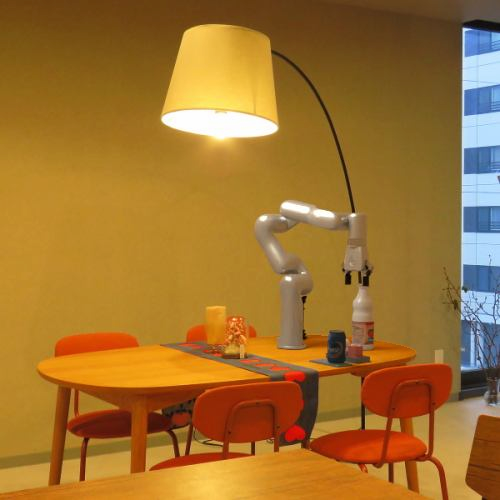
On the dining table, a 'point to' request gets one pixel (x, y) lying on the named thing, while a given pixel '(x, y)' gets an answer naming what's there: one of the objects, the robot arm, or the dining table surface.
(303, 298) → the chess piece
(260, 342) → the dining table surface
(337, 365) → the board
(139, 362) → the dining table surface
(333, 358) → the soda can
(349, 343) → the dome
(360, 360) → the game base
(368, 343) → the fruit juice
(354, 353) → the red die
